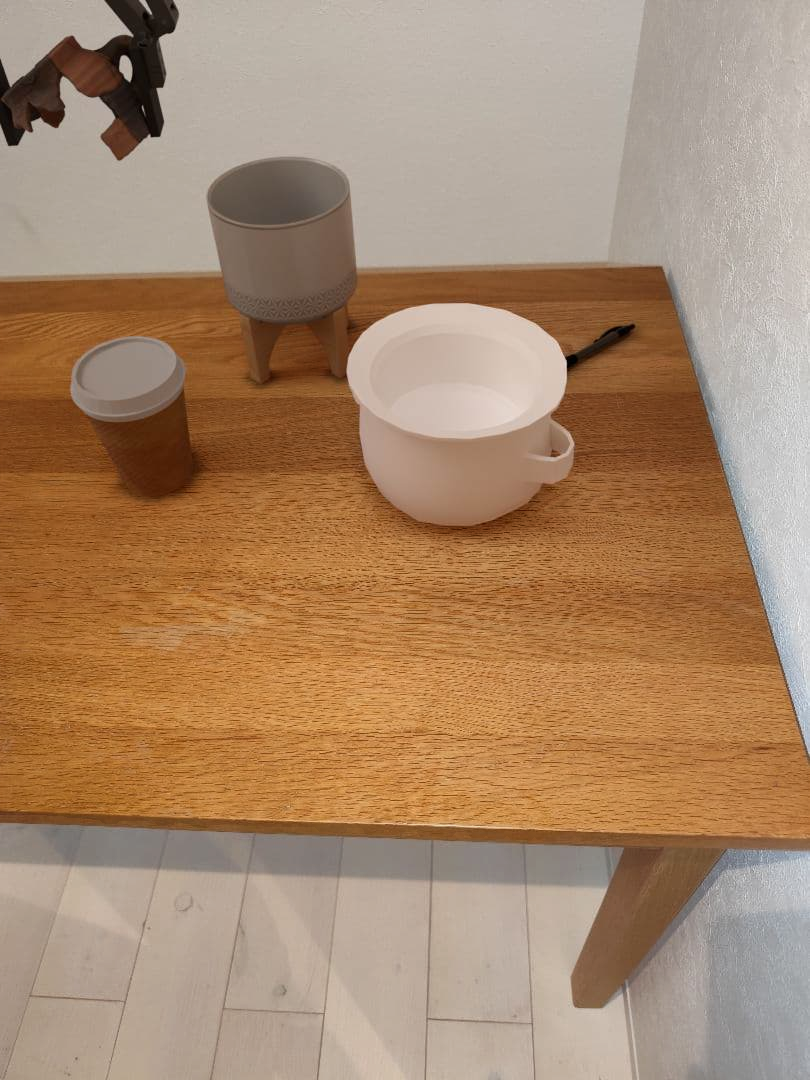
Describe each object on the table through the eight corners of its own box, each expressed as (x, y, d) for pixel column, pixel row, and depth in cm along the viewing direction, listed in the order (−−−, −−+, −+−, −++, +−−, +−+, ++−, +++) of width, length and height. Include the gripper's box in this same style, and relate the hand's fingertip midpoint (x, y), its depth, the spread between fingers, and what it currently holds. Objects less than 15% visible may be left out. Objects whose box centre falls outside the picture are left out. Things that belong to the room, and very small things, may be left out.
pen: (625, 325, 95) (626, 316, 94) (637, 332, 94) (638, 323, 93) (528, 379, 89) (529, 369, 89) (539, 387, 88) (540, 377, 88)
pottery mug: (102, 186, 66) (13, 86, 61) (58, 205, 73) (-25, 116, 69) (202, 86, 70) (125, -16, 65) (150, 112, 77) (78, 22, 72)
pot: (300, 479, 81) (281, 371, 72) (413, 381, 90) (410, 273, 81) (504, 590, 72) (513, 481, 63) (608, 467, 81) (629, 357, 72)
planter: (302, 301, 100) (280, 143, 87) (388, 345, 94) (379, 182, 81) (214, 357, 94) (176, 195, 80) (300, 407, 88) (274, 242, 74)
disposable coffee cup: (85, 483, 82) (40, 378, 73) (159, 425, 87) (126, 320, 78) (158, 524, 78) (121, 419, 69) (232, 461, 83) (206, 355, 74)
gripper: (-239, -211, 51) (-73, 165, 68) (159, -233, 52) (228, 146, 68) (-190, -233, 56) (-46, 122, 73) (173, -253, 57) (235, 105, 73)
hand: (87, 134), depth 71 cm, fingers closed on pottery mug, 10 cm apart
